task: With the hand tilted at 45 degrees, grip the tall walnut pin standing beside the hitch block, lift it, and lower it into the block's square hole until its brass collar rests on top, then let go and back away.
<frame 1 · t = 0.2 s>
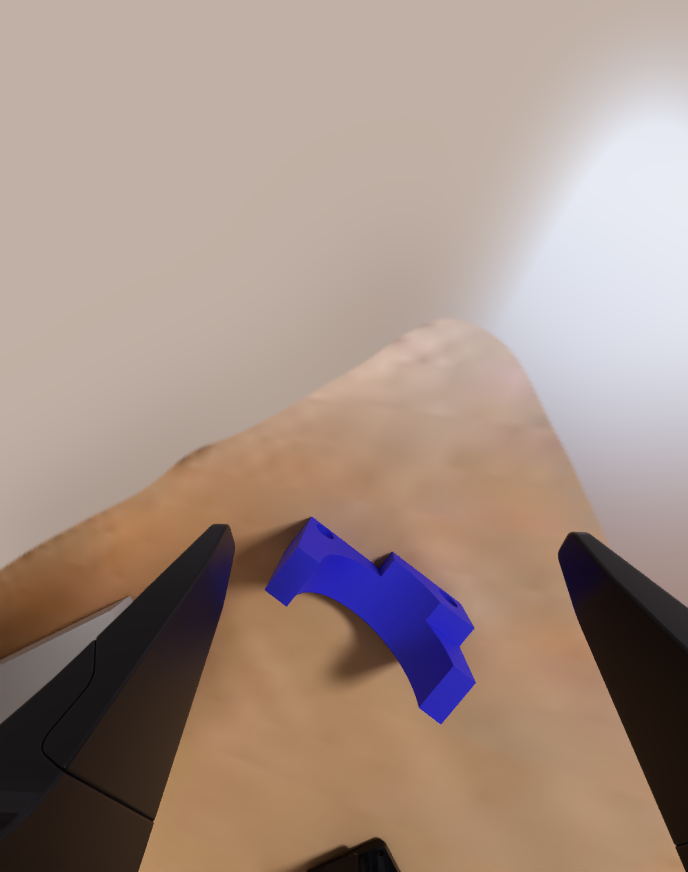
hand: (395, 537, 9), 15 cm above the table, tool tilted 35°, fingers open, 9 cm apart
blue arched block: (372, 574, 25), on the table
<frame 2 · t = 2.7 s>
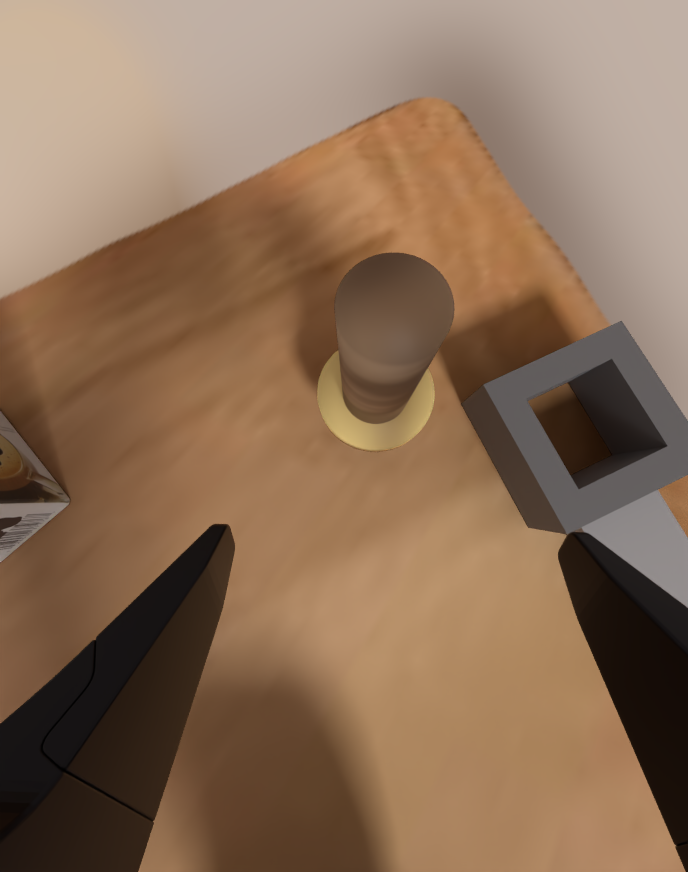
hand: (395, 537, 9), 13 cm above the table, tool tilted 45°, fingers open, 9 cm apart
hitch block: (553, 435, 23), on the table
walnut pin: (371, 410, 23), on the table
coffee box: (0, 484, 23), on the table
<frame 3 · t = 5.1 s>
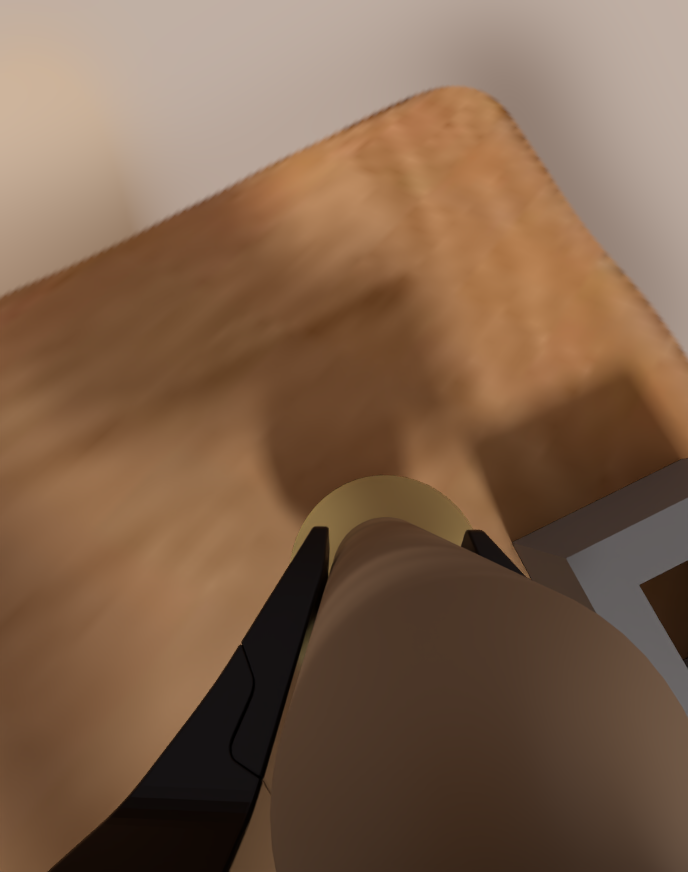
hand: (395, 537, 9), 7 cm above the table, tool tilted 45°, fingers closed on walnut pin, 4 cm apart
hitch block: (653, 594, 15), on the table
walnut pin: (377, 552, 16), on the table, touching gripper
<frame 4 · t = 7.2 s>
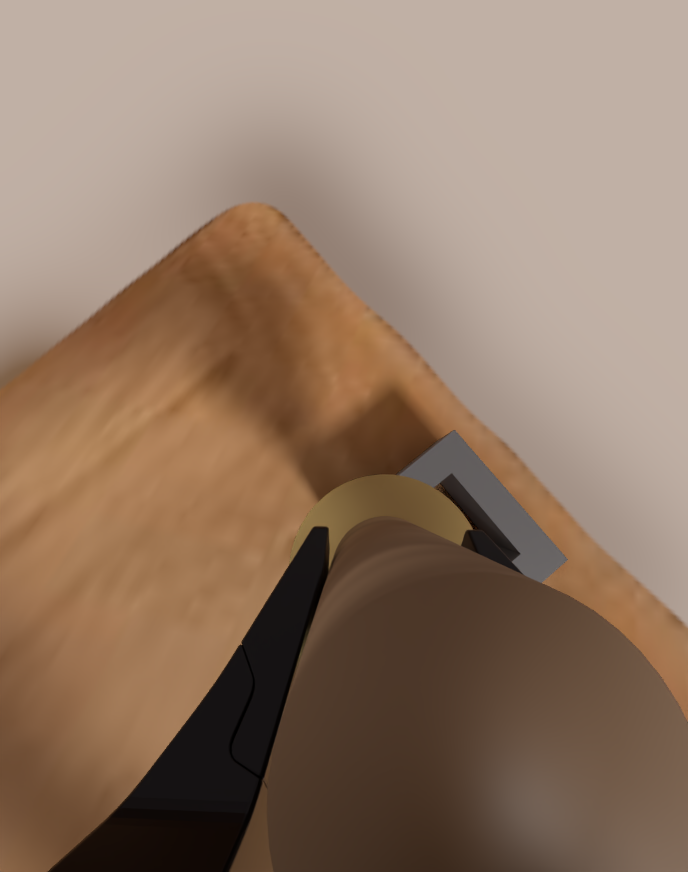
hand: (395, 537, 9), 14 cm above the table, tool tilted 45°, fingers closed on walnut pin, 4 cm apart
hitch block: (430, 536, 22), on the table
walnut pin: (377, 551, 16), point 7 cm above the table, touching gripper
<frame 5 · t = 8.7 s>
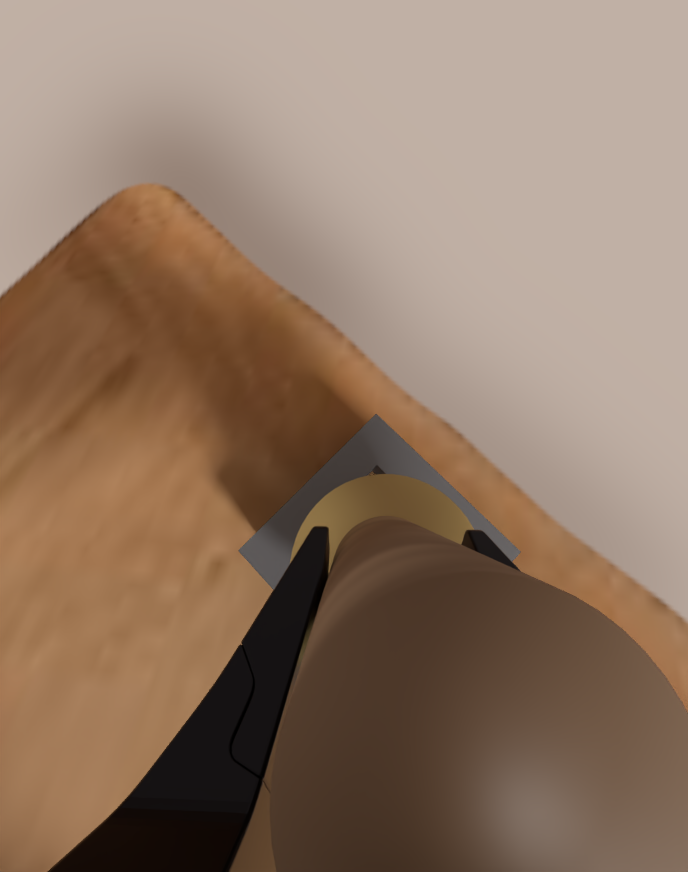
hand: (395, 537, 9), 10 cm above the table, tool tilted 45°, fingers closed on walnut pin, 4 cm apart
hitch block: (373, 539, 19), on the table
walnut pin: (377, 551, 16), point 4 cm above the table, touching gripper
when the fingers open (7 cm above the table, at t = 9.6 s): walnut pin stays where it is, resting on hitch block.
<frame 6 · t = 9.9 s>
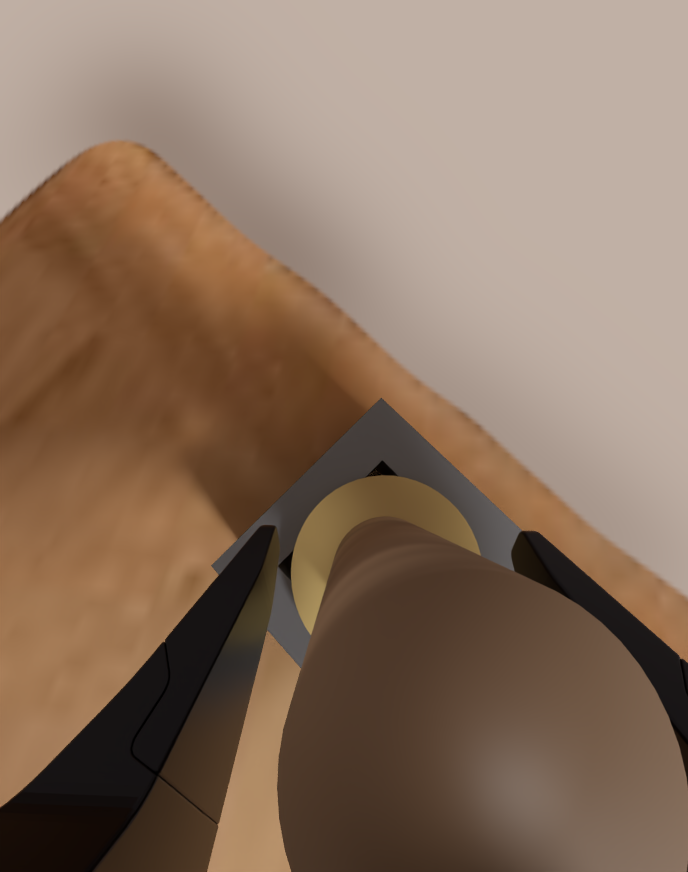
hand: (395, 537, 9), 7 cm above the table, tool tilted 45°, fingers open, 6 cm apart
hitch block: (376, 549, 16), on the table
walnut pin: (377, 551, 16), resting on hitch block
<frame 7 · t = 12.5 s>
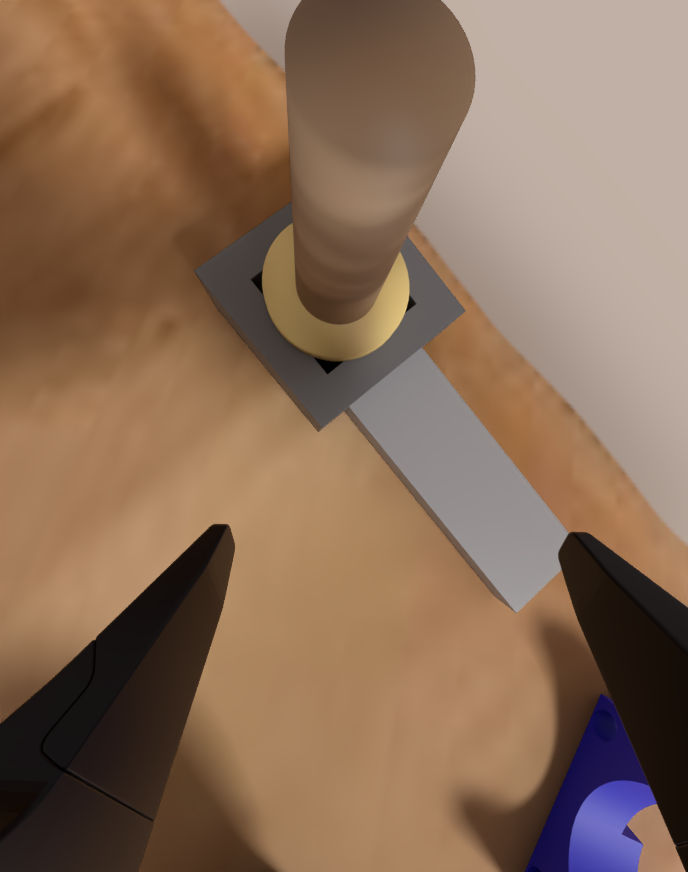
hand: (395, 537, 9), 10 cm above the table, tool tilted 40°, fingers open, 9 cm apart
blue arched block: (586, 798, 21), on the table
hitch block: (329, 323, 20), on the table
walnut pin: (330, 319, 19), resting on hitch block
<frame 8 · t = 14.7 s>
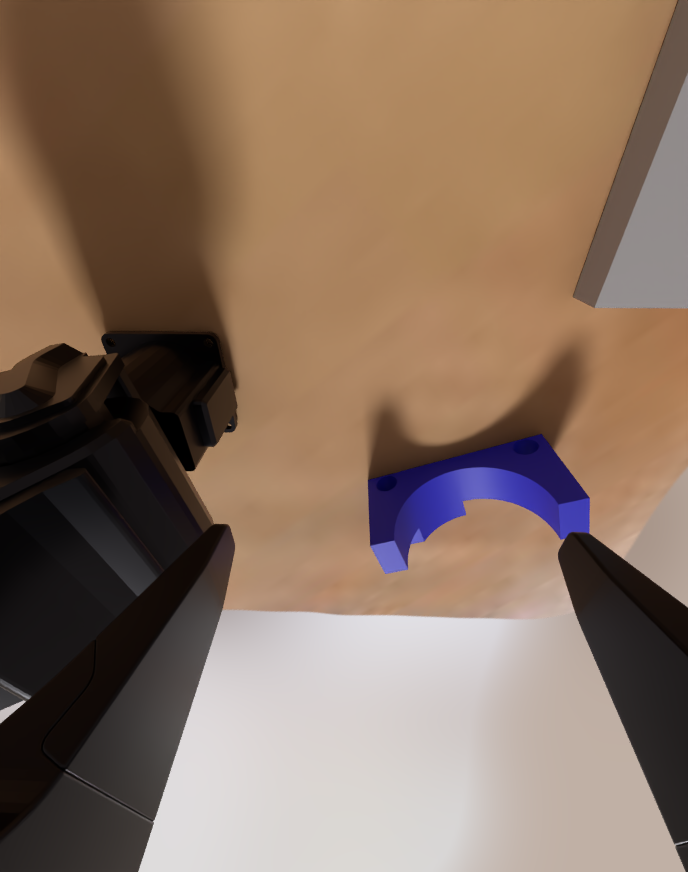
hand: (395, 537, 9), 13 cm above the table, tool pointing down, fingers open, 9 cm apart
blue arched block: (454, 477, 26), on the table
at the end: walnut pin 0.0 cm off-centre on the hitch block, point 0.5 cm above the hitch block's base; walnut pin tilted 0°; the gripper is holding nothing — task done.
